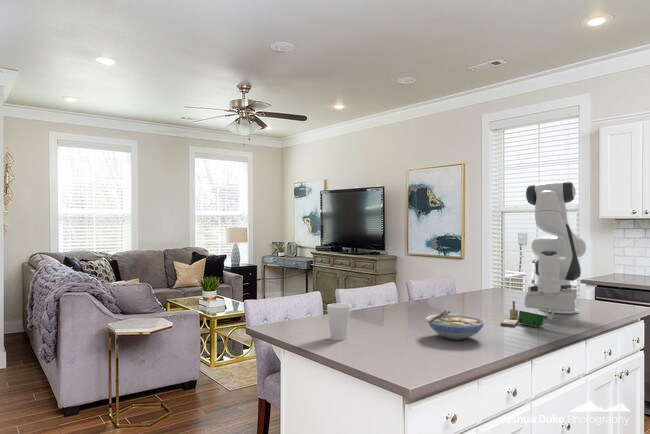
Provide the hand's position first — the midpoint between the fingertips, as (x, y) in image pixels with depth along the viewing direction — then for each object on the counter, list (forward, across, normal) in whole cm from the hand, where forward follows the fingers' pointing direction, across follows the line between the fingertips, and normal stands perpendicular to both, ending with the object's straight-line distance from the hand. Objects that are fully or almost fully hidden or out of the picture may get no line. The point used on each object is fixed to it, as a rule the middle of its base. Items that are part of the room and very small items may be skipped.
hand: (549, 319), depth 202 cm
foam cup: (+4, +71, +63) cm, 95 cm away
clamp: (+3, +7, 0) cm, 8 cm away
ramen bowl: (+4, +31, +40) cm, 51 cm away
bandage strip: (+3, +16, 0) cm, 17 cm away
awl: (+3, +16, -9) cm, 19 cm away
